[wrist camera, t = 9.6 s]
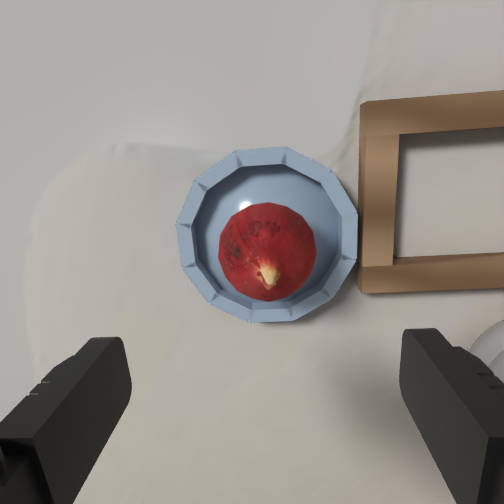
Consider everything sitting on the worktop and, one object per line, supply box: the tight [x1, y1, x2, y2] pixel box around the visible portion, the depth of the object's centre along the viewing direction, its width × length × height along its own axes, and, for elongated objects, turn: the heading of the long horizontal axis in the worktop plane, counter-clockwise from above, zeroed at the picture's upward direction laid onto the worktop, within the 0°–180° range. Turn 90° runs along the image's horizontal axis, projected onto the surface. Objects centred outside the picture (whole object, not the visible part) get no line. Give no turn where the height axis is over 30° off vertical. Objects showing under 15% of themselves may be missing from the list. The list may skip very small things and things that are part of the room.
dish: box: [176, 147, 358, 322], centre depth 23 cm, size 12×12×2 cm
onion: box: [218, 202, 317, 302], centre depth 20 cm, size 6×6×8 cm
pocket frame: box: [356, 90, 504, 293], centre depth 22 cm, size 12×15×2 cm
